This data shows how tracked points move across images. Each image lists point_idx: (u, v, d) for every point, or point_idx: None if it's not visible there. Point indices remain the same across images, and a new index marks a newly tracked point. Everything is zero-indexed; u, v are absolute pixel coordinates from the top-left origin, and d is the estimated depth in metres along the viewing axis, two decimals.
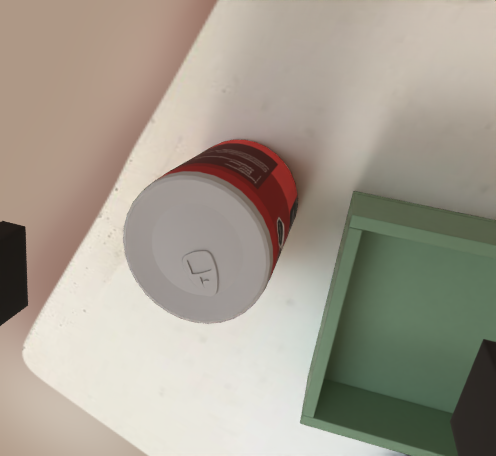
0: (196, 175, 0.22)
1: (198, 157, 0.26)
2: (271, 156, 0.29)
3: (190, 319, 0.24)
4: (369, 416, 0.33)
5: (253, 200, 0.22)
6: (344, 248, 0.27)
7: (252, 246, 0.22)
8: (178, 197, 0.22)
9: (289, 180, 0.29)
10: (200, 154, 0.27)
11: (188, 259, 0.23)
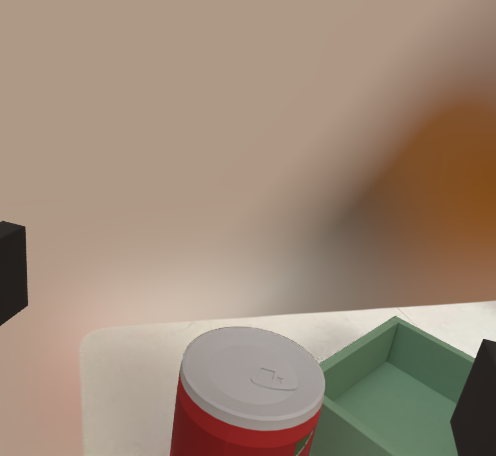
0: (202, 335, 0.28)
1: None
2: None
3: (311, 406, 0.23)
4: None
5: None
6: None
7: (273, 342, 0.28)
8: (206, 353, 0.26)
9: None
10: None
11: (256, 377, 0.25)
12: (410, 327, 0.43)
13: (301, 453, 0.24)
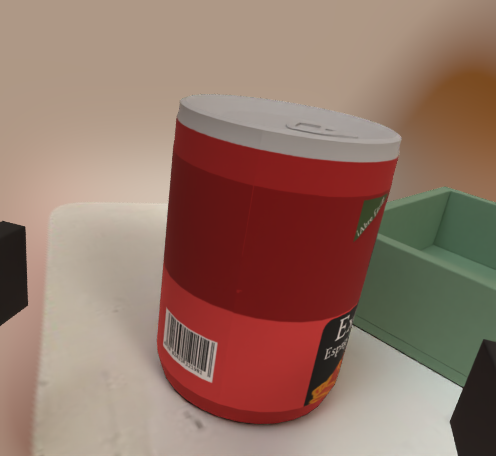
0: (210, 98, 0.19)
1: None
2: None
3: (386, 140, 0.14)
4: None
5: None
6: None
7: (312, 114, 0.19)
8: (216, 107, 0.17)
9: None
10: None
11: (294, 125, 0.16)
12: (465, 194, 0.34)
13: (367, 232, 0.15)
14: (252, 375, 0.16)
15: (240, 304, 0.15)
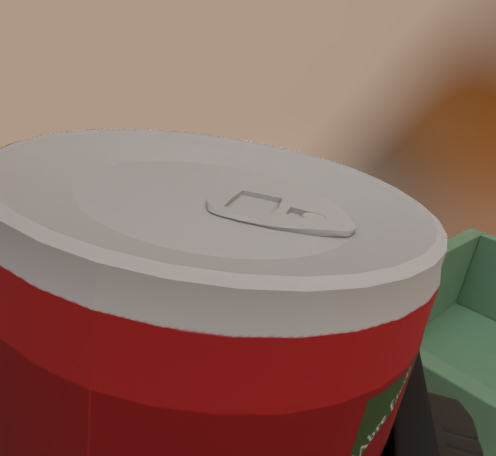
0: None
1: None
2: None
3: (421, 260, 0.06)
4: None
5: None
6: None
7: (276, 162, 0.11)
8: (85, 158, 0.09)
9: None
10: None
11: (224, 203, 0.08)
12: None
13: (374, 443, 0.07)
14: None
15: None
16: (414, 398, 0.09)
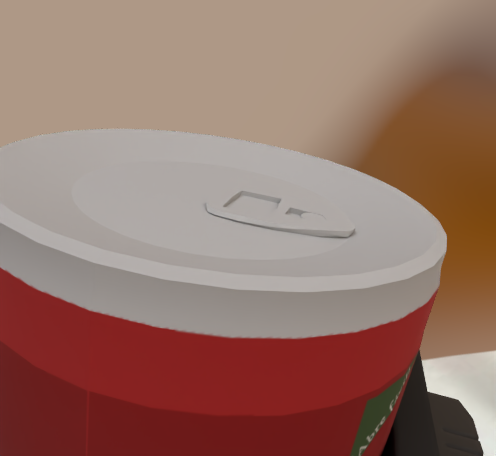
0: None
1: None
2: None
3: (420, 261, 0.06)
4: None
5: None
6: None
7: (276, 162, 0.11)
8: (84, 158, 0.09)
9: None
10: None
11: (224, 204, 0.08)
12: None
13: (374, 444, 0.07)
14: None
15: None
16: (414, 398, 0.09)
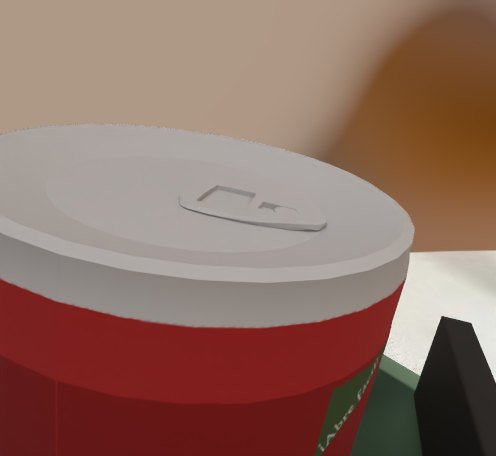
0: None
1: None
2: None
3: (384, 253, 0.06)
4: None
5: None
6: None
7: (254, 158, 0.11)
8: (61, 153, 0.09)
9: None
10: None
11: (197, 198, 0.08)
12: None
13: (343, 432, 0.07)
14: None
15: None
16: None
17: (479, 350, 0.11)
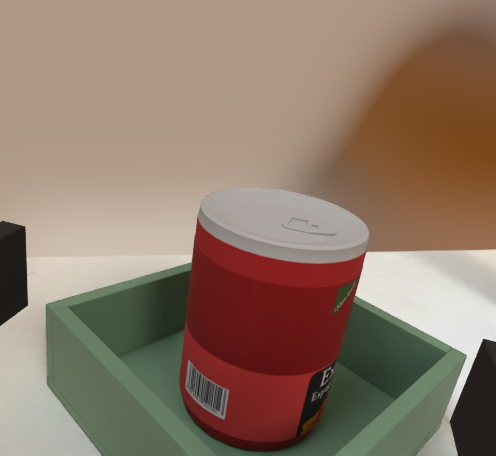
0: None
1: None
2: None
3: (355, 243, 0.19)
4: None
5: None
6: (66, 324, 0.22)
7: (303, 202, 0.24)
8: (227, 203, 0.22)
9: None
10: None
11: (288, 223, 0.21)
12: None
13: (342, 307, 0.20)
14: (255, 414, 0.21)
15: (246, 362, 0.20)
16: None
17: None
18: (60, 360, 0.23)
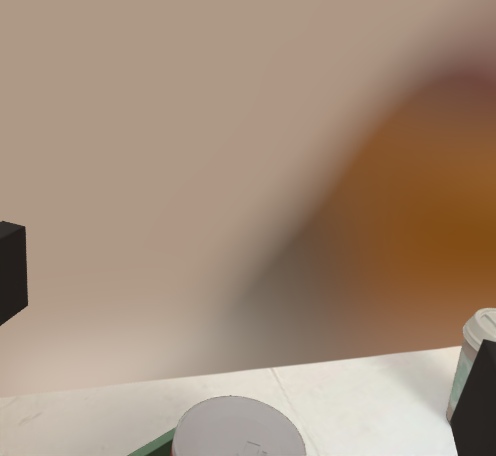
0: (193, 407, 0.30)
1: None
2: None
3: None
4: None
5: None
6: None
7: (259, 412, 0.30)
8: (196, 426, 0.28)
9: None
10: None
11: (242, 453, 0.27)
12: None
13: None
14: None
15: None
16: None
17: None
18: None
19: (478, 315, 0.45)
